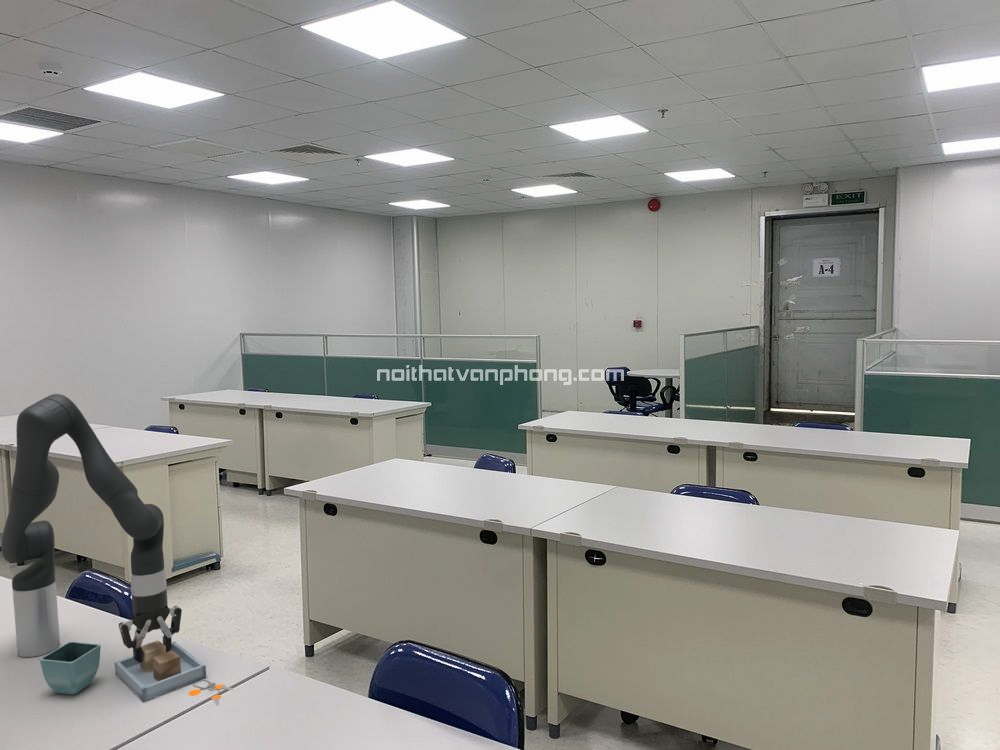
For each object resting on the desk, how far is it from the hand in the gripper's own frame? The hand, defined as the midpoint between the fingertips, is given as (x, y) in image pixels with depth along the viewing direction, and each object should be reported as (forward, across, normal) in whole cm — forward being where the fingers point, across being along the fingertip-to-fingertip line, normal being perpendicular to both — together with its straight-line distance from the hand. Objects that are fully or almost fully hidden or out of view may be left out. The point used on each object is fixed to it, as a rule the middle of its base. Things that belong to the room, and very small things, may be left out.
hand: (153, 656), depth 168 cm
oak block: (+3, 0, 0) cm, 3 cm away
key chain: (+4, +5, -20) cm, 21 cm away
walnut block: (+3, 0, -8) cm, 8 cm away
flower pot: (+4, -16, +5) cm, 17 cm away
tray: (+4, 0, -4) cm, 5 cm away
